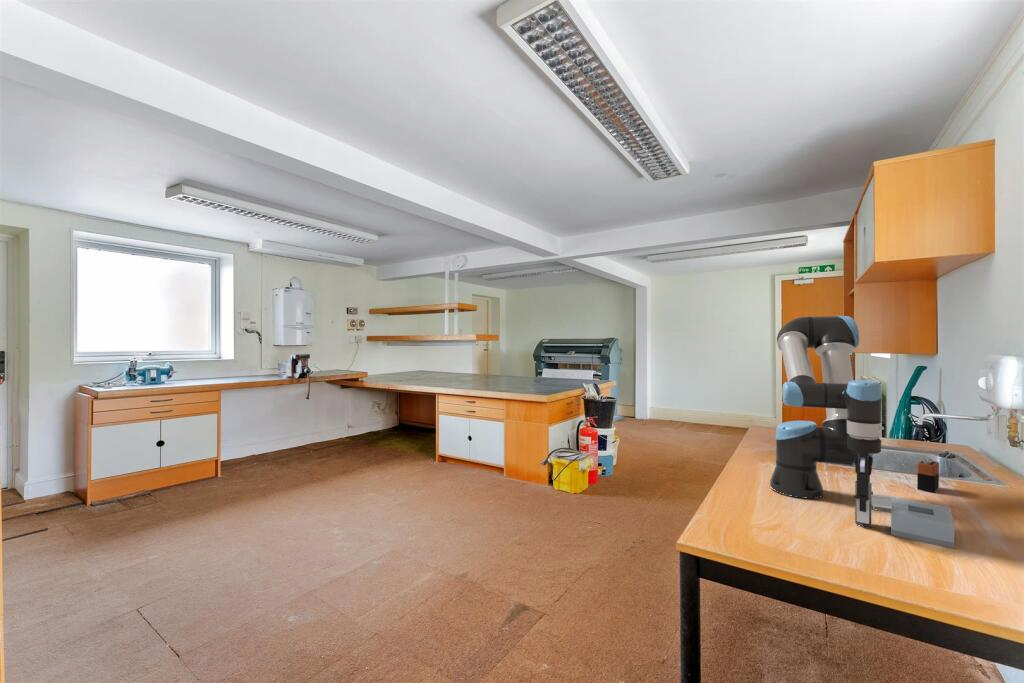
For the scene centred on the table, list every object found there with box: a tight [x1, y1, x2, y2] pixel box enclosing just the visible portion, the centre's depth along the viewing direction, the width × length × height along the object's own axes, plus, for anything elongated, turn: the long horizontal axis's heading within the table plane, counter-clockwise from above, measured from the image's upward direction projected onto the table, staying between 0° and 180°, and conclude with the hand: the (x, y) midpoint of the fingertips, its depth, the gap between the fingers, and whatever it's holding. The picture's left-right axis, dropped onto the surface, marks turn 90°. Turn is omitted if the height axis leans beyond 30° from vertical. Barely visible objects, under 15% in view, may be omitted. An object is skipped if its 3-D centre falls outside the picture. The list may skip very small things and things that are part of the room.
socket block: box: [890, 496, 955, 549], centre depth 122 cm, size 12×14×6 cm
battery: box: [916, 458, 940, 493], centre depth 152 cm, size 4×7×10 cm, turn 127°
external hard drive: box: [872, 493, 897, 512], centre depth 140 cm, size 2×8×12 cm
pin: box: [854, 480, 873, 528], centre depth 126 cm, size 4×4×12 cm
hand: (863, 519), depth 126 cm, fingers closed on pin, 3 cm apart
